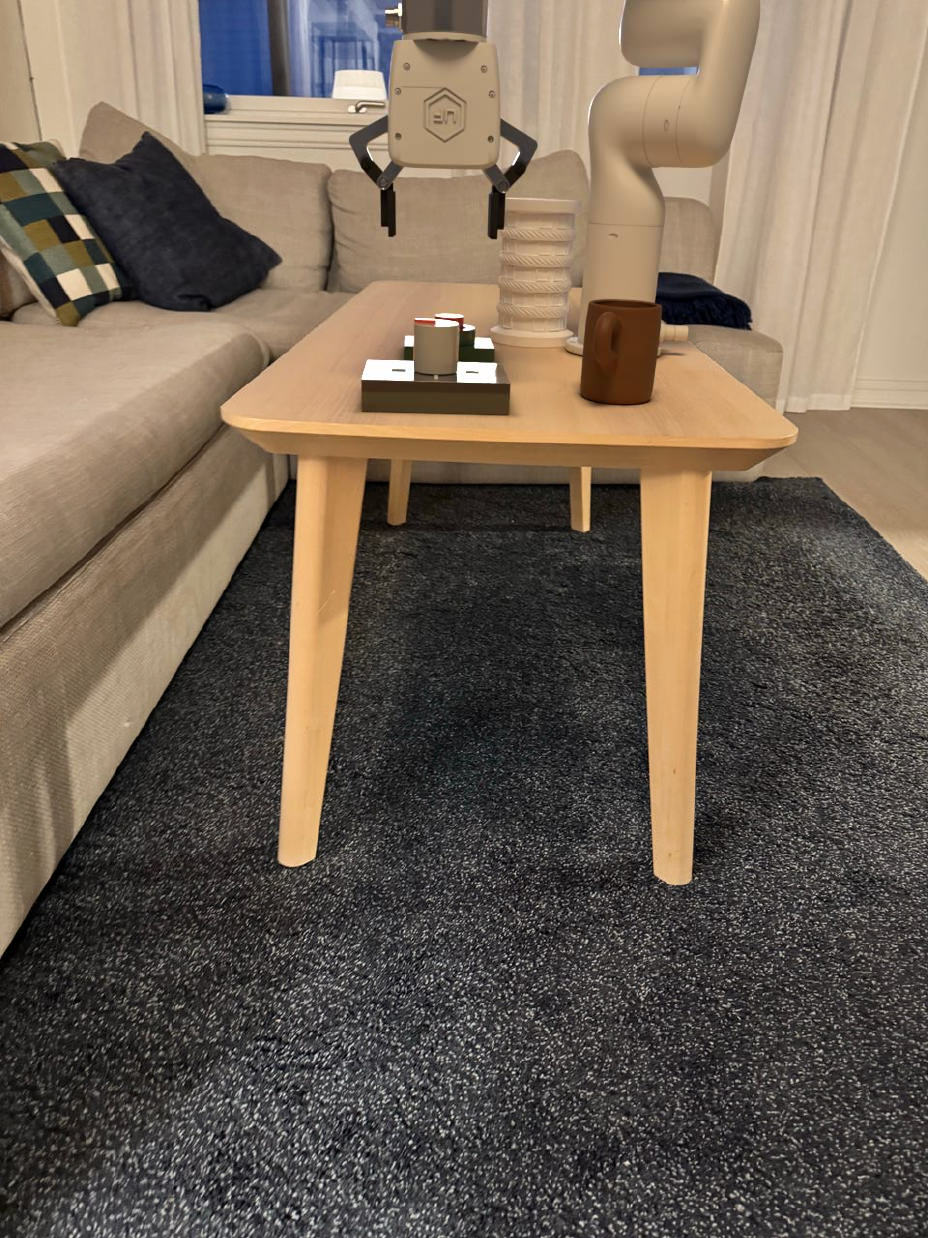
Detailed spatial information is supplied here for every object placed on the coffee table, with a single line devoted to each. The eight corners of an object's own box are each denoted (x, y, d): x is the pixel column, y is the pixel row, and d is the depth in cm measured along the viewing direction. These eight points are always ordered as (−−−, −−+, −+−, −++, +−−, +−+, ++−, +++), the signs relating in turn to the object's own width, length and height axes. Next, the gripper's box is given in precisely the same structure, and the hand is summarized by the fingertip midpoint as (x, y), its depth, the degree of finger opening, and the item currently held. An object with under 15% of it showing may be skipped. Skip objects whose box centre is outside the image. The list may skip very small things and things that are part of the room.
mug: (631, 418, 87) (643, 315, 83) (555, 408, 90) (563, 308, 86) (659, 395, 97) (670, 302, 93) (590, 386, 100) (599, 296, 95)
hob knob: (457, 366, 91) (459, 317, 89) (457, 375, 87) (459, 323, 85) (414, 365, 91) (414, 315, 89) (412, 374, 87) (412, 322, 85)
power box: (489, 351, 118) (491, 323, 116) (494, 362, 111) (495, 333, 109) (405, 349, 117) (405, 320, 116) (403, 360, 110) (404, 330, 109)
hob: (500, 392, 95) (502, 361, 94) (509, 415, 86) (510, 381, 85) (367, 389, 95) (367, 358, 93) (361, 411, 86) (361, 377, 84)
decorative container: (582, 338, 130) (594, 200, 122) (558, 350, 120) (570, 201, 113) (506, 331, 134) (513, 197, 126) (477, 342, 124) (483, 197, 116)
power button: (462, 328, 114) (463, 314, 114) (464, 332, 111) (464, 318, 110) (434, 327, 114) (434, 313, 113) (434, 332, 111) (434, 317, 110)
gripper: (342, 15, 75) (349, 237, 83) (549, 23, 76) (536, 242, 84) (348, 27, 82) (353, 232, 90) (537, 34, 83) (527, 236, 91)
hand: (442, 236), depth 87 cm, fingers open, 9 cm apart
